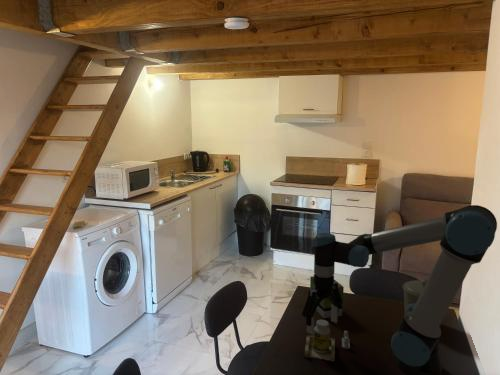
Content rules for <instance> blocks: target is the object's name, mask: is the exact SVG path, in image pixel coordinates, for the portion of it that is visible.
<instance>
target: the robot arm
mask: <svg viewBox="0 0 500 375" xmlns="http://www.w3.org/2000/svg"><path fill="white" fill-rule="evenodd" d="M497 229H498V221H497V218H496V216H495V215H494V213H493V212H492V211H491V210H490V209H488V208H487V207H484V206H482V205H477V204H476V205H475V204H473V205H472V204H471V205H467V206H463V207H461V208H458V209H455V210H451V211H449V212H448V211H447V212H445V213H444V214H443V215H442V216H440V217H436V218H432V219H428V220H423V221H420V222H415V223H410V224H407V225H406V224H405V225H401V226H397V227H393V228H389V229H385V230H381V231H377V232H373V233H363V234H361V235H358V236H357V237H356V238H354V239H352V240H351V241H349V242H343V241H339V240H336V239H337V238H336V235H335V234H332V233H331V232H330V233H329V232H320V233H316V234H315V237H314V245H313V247H314V259H313V260H314V261H313V273H314V274H313V276H314V284H315V290H310V289H309V290H308V292H307V293H308V296H307V299H306V301H305V303H304V304H305V305H304V307H303V309H302V312H301V315H302V317H304V318H305V324H306V333H308V334H310V335H311V336H314V328H315V324H314V323H315V317H314V314H315V313H316V312H317V311H316V309H317V307H318V305H319V303H320V302H321V301H322V300H323V299H325V298H329V299H330V301H331V302H332V303H333V304H334V305H331V318H330V322H333V323H334V324H337V323H338V318H339V316H338V307H341V304H342V302H343V303H344V301H342V298H341V295H340V293H339V290H338V284H337V283H335V282H334V280H335V264H336V263H339V264H343V265H348V266H351V267H354V268H364V267H366V266H367V265H368V263H369V260H370V259H369V258H370V256H371V255H375V254H379V253H384V252H385V253H386V252H390V251H395V250H400V249H405V248H409V247H414V246H418V245H419V246H420V245H425V244H430V243H435V242H439V241H440V242H439V246H440V249H441V252H440V254H439V257H438V259H437V261H436V262H435V265H434V266H433V269H432V271H431V272H430V275H429V276H428V279H427V282H426V284H425V286H424V288H423V290H422V293H421V295H420V297H419V299H418V301H417V303H412V304H409V305H407V308H406V313H405V312H404V316H403V318H402V319H401V321H400V324H399V326H398V327H397V329H396V331H395V332H394V333H393V335H392V337H391V340H390V341H391V342H390V347H391V350H392V352H393V353H394V355H395V357H396V364H397V367H398V368H399V369H400V370H401V371H402V372H403V373H405V374H406V375H442V373H443V365H442V360H441V356H440V352H439V350H440V349H439V348H440V339H441V335H442V331H441V329H442V322H443V320H444V318H445V316H446V315H447V313H448V311H449V309H450V307H451V304H452V303H453V301H454V299H455V297H456V295H457V293H458V291H459V290H460V289H461V286H462V285H463V282H464V280H465V279H466V277H467V275H468V273H469V271H470V269H471V268H472V265H474V264H480V263H481V262H482V260H483V258H484V256H485V255H486V253H487V250H488V249H489V248H490V247H491V245H493V242H494V240H495V236H496V232H497ZM331 290H332V292H333V293H332V292H331ZM333 294H334V296H333ZM316 297H318V298H319V299H318V298H316ZM340 303H341V304H340Z"/></svg>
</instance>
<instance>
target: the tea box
mask: <svg viewBox="0 0 500 375" xmlns="http://www.w3.org/2000/svg"><path fill="white" fill-rule="evenodd" d="M334 282H335V283H337V284H338V290H339V293H340V295H341V298H342V301H343V300H344V288H345V287H344V286H343V285H342V284H341V283H339V281H337V280H335V279H334ZM309 283H310V285H309V290H315V284H314V275H312V276H310V282H309ZM331 292H332V290H331ZM332 293H333V292H332ZM333 296H334V294H333ZM316 298H318V297H316ZM318 299H319V298H318ZM340 304H341V303H340ZM331 305H334V304H333V303H332V302H331V301H330V299H329V298H325V299H323V300H322V301H321V302H320V303H319V305H318V307H317V309H316V311H315V312H317V313H318V314H319V316H321V317H322V318H323V319H331ZM343 305H344V301H343V302H342V304H341V307H338V317H341V316H343Z"/></svg>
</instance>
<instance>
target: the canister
mask: <svg viewBox="0 0 500 375" xmlns="http://www.w3.org/2000/svg"><path fill="white" fill-rule="evenodd" d="M427 280H428V279H427V278H423V279H422V280H420V279H419V280H418V279H417V280H410V281H407V282H404V283H403V284H402V289H403V302H404V303H403V304H404V307H403V308H404V314H405V313H406V308H407V305H409V304H412V303H417V301H418V299H419V297H420V295H421V293H422V290H423V288H424V286H425V284H426V282H427Z"/></svg>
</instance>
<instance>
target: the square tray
mask: <svg viewBox="0 0 500 375" xmlns="http://www.w3.org/2000/svg"><path fill="white" fill-rule="evenodd" d="M313 336H314V335H311V334H310V335H308V334H307V335H306V339H305V346H304V358H310V359H315V358H316V359H315V360H322V359H324V360H323V361H329V360H330V361H331V362H335V359H336V358H335V357H336V356H335V355H336V352H335V351H336V350H335V349H336V348H335V346H336V344H335V342H336V339H335V338H331V337H330V340H329V350H328V351H327V352H326V353H319V352H316V351H315V350H314V349H313ZM317 358H318V359H317Z"/></svg>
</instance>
